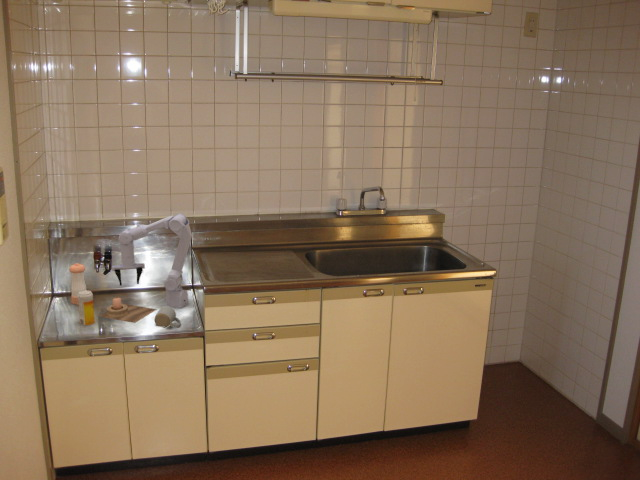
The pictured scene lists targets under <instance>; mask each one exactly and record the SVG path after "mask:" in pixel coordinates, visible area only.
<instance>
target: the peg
mask: <svg viewBox="0 0 640 480" xmlns="http://www.w3.org/2000/svg"><path fill="white" fill-rule="evenodd" d="M121 304H122V298H121V297H115V298H112V305H113V310H120V309H122V306H121Z"/></svg>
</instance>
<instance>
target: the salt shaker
mask: <svg viewBox="0 0 640 480" xmlns="http://www.w3.org/2000/svg"><path fill="white" fill-rule="evenodd" d="M68 268H69V269H68V270H69V272H70V274H71V276H70V277H71V285H70V286H71V288H70V289H71V297H70V301H71V304H72V305H76V306H79V305H78V294H79V292H80V291H85V290H87V285H86V282H85V274H84V273H85V270H86V267H85V265H84V264H80V263H79V262H76V263H74V264H72V265H70V267H68Z"/></svg>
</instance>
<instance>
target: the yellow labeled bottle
mask: <svg viewBox="0 0 640 480" xmlns="http://www.w3.org/2000/svg"><path fill="white" fill-rule="evenodd" d="M77 306H78V314H79V315H78V316H79V324H80V325H81V326H90V325H94V324H95V323H96V321H95V319H96V318H95V308H94V307H95V306H94V294H93V292H92V291H91V290H87V289H86V290H85V291H80V292H79V294H78V305H77Z"/></svg>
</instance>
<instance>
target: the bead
mask: <svg viewBox="0 0 640 480" xmlns="http://www.w3.org/2000/svg"><path fill="white" fill-rule="evenodd" d="M124 304H125V303H121V306H122V309H120V310H113V304H111V305H109V306H106V310H105V312H107V316H108V317H111V318H119V317H124V316H126V315H127V314H128V307H127V305H124Z"/></svg>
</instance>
